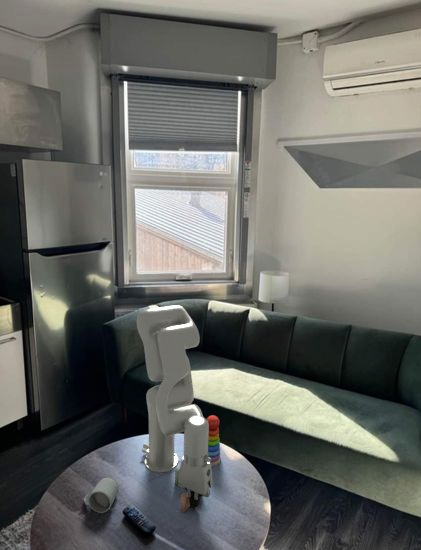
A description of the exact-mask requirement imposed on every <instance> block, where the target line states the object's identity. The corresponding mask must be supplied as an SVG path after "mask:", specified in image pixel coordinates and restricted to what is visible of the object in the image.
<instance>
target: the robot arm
mask: <svg viewBox="0 0 421 550" xmlns="http://www.w3.org/2000/svg"><path fill="white" fill-rule="evenodd" d="M136 327H137V331H138V334H139V337H140V339H141V341H142V343H143V347H144V348H143V350H144V356H145V357H144V358H145V366H146V372H147V377H148V379H149V381H152V382H161V383H160V384H158V385H154V386H153V387H151V388H149V389H148V390H147V392H146V395H145V396H146V397H145V398H146V405H147V412H148V443H147V442H144V444H143V445H142V449H141V452H142V453H143V454H145V455H146V456H145V457H144V465H145V467H146V468H147V470H149V471H150V472H152V473H157V474H158V473H159V474H161V473H162V474H163V473H167V472H170V471H172V470H175V469H176V468H177V465H178V463H179V457H178V455H177V453H176V452H175V439H176V438H175V435H176V434H181V433H183V456H182V457H181V461H180V465H179V469H180V472H179V482H180V485H181V486H183V487H184V488H185V489H184V488H183V489H184V490H185V491H186V492H187V493H188V496H189V503H190V506H189V509H192V510H193V511H195V510H196V509H197V508H199V506H200V505H201V504H200V503H201V498H202V497H205V498H209V497H210V496H211V488H212V487H213V471H212V470H213V468H212V466H211V463H210V462H211V458H209V457H208V433H209V424H208V421H207V418H205V417H204V416H203V412H202V410H201V408H200V407H199V406H198V405H197V404H196V403H194V404H193V401H194V397H195V392H194V386H193V385H194V383H193V378H192V370H191V363H190V359H189V357H188V355H187V351H186V350H188V349H191V348H196V347H198V346H199V344H200V340H201V338H200V333H199V329H198V327H197V324H195V322H194V320H193V319H192V317H191V316H190V314H189V313H188V312H187V310H186V309H185V308H184V306H182V305H178V304H177V305H176V304H175V305H167V306H159V307H150V308H146V309H143V310H141V311H140V312H139V313H138V314H137V316H136Z"/></svg>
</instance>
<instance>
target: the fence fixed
mask: <svg viewBox="0 0 421 550" xmlns="http://www.w3.org/2000/svg"><path fill="white" fill-rule="evenodd" d="M179 472H180V467H179V468H177V467H175V468H174V486H176V487H177V486H179V487H180V488H183V489H184V490H186V489H185V488H184V487H183V486H181V485H180V482H179Z"/></svg>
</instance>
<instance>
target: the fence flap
mask: <svg viewBox="0 0 421 550" xmlns="http://www.w3.org/2000/svg"><path fill="white" fill-rule="evenodd" d="M189 508H190V503H189V496H188V492H187V493H181V495H180V512H181V513H186V512H187V510H188V509H189Z"/></svg>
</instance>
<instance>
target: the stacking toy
mask: <svg viewBox="0 0 421 550" xmlns="http://www.w3.org/2000/svg"><path fill="white" fill-rule="evenodd" d="M206 420H207V421H208V424H209V433H208V457H209V458H211V462H210V463H211V467H216V466H218V465H219V464H220V463H221V460H222V457H221V443H220V437H219V436H220V434H219V433H220V430H219V429H220V428H219V426H220V418H218V416H216V415H213V414H212V415H209V416H208V417H207V418H206Z"/></svg>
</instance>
